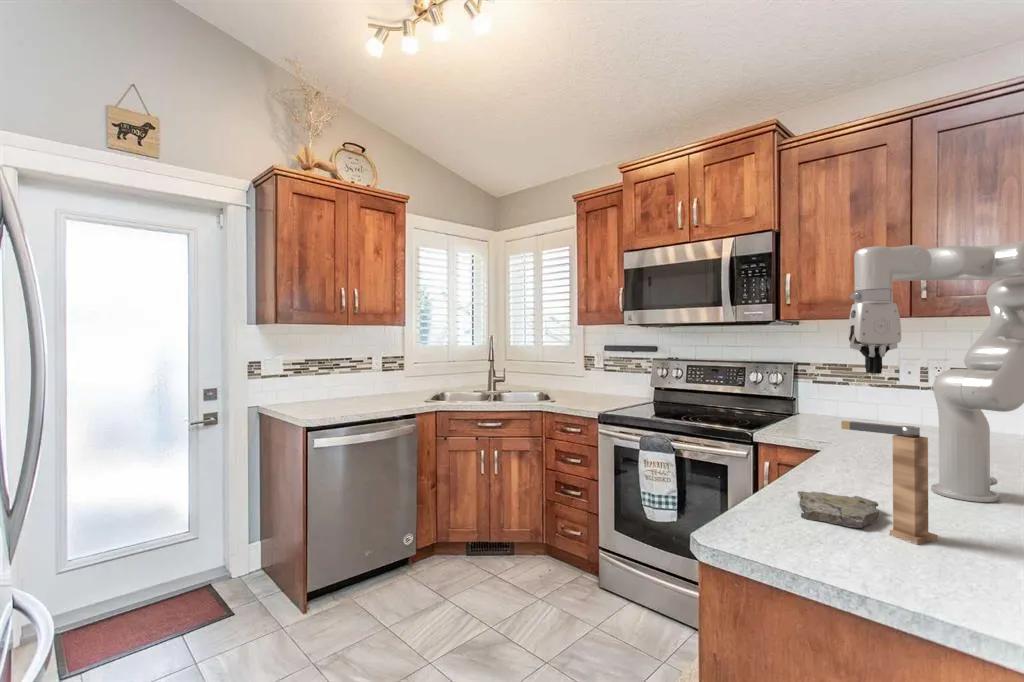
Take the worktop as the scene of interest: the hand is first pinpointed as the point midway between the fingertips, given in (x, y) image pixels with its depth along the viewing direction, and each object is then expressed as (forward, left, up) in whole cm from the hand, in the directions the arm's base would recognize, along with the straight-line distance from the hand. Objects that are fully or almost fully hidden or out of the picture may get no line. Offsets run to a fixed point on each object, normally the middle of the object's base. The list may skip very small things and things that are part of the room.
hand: (873, 373), depth 122 cm
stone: (+18, +5, -32) cm, 37 cm away
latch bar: (+18, +13, -11) cm, 25 cm away
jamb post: (+16, +18, -31) cm, 39 cm away
